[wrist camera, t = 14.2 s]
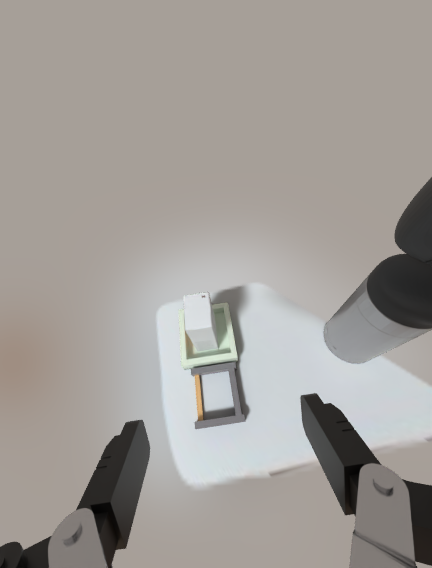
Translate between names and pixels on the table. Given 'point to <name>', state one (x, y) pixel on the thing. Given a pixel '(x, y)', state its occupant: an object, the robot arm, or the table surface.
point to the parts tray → (215, 356)
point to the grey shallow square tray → (238, 415)
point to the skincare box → (200, 321)
